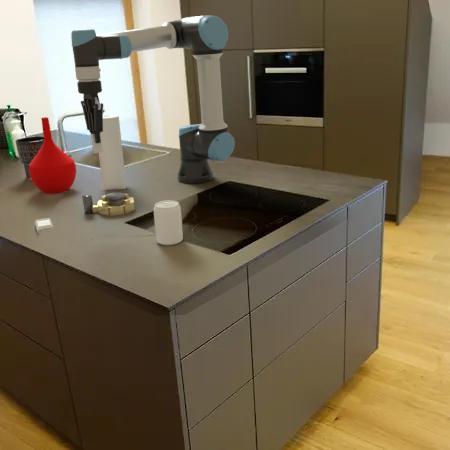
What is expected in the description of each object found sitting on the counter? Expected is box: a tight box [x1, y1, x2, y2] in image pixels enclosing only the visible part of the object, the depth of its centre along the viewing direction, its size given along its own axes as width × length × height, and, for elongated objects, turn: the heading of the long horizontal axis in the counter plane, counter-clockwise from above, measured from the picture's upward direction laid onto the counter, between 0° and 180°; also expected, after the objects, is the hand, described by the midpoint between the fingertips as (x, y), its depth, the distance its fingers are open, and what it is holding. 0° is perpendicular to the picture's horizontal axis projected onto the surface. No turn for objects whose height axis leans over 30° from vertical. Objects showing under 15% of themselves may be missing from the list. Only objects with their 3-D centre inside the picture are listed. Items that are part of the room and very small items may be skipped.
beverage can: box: [153, 199, 184, 246], centre depth 156 cm, size 8×8×12 cm
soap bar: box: [34, 217, 54, 235], centre depth 172 cm, size 5×9×3 cm, turn 23°
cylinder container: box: [98, 114, 127, 191], centre depth 209 cm, size 9×9×30 cm
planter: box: [15, 135, 44, 179], centre depth 230 cm, size 13×13×18 cm
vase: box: [29, 117, 77, 195], centre depth 208 cm, size 18×18×30 cm
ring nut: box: [81, 192, 136, 217], centre depth 182 cm, size 17×12×6 cm
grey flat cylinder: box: [105, 191, 125, 206], centre depth 182 cm, size 22×20×7 cm
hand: (97, 152), depth 176 cm, fingers closed
